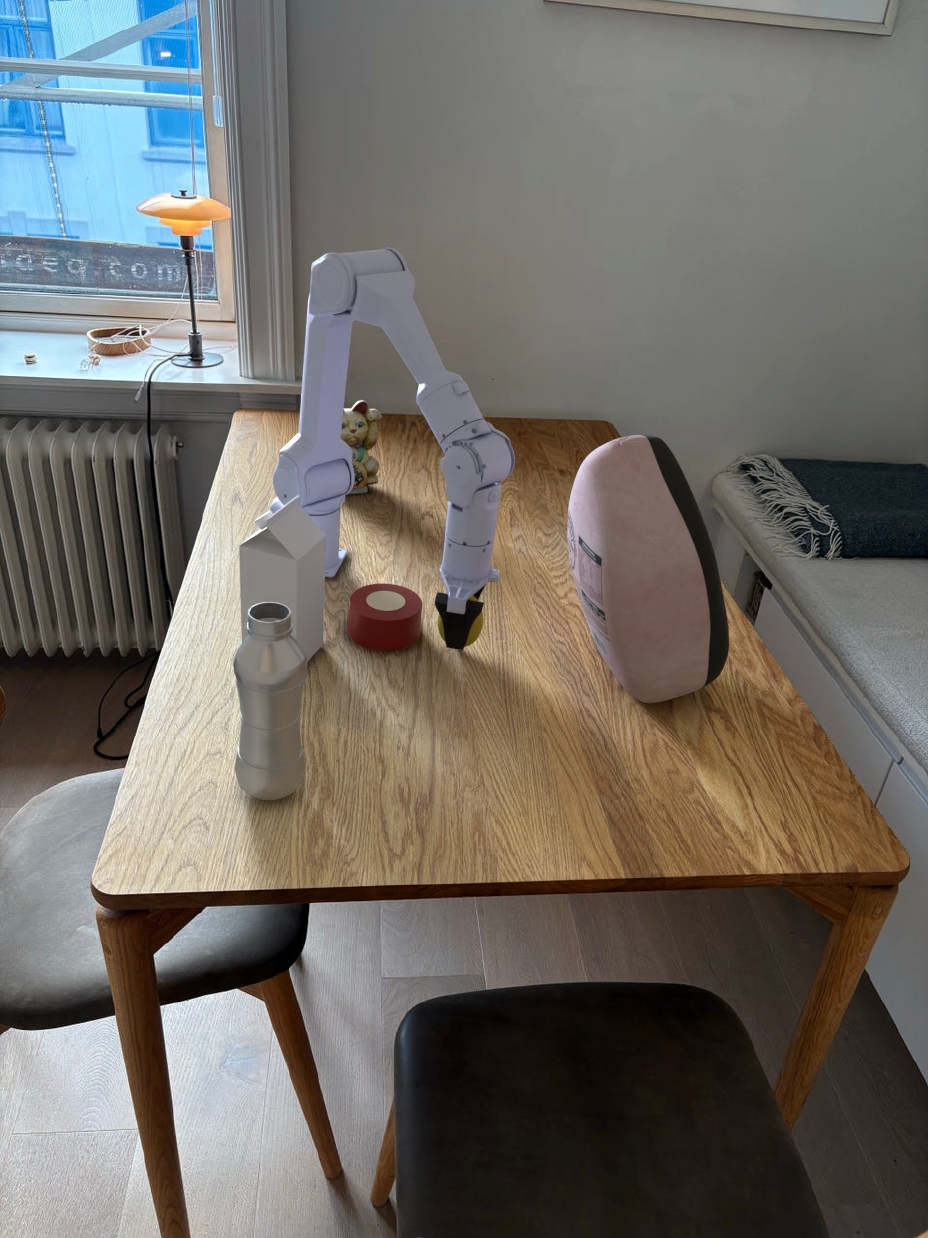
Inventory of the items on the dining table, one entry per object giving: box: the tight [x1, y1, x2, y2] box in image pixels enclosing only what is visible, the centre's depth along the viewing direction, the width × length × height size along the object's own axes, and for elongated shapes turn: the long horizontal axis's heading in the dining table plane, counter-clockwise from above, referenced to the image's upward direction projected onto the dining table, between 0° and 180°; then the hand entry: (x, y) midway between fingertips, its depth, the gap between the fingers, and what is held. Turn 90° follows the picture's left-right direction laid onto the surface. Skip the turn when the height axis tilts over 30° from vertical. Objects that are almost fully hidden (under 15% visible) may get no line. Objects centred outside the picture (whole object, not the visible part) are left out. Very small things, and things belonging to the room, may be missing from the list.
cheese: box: [347, 582, 423, 653], centre depth 118 cm, size 9×9×5 cm
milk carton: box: [238, 496, 326, 662], centre depth 108 cm, size 7×7×19 cm
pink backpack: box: [566, 434, 730, 704], centre depth 109 cm, size 22×20×30 cm
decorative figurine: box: [341, 399, 383, 495], centre depth 152 cm, size 10×8×15 cm
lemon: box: [437, 596, 484, 648], centre depth 116 cm, size 6×6×8 cm
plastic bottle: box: [232, 602, 309, 801], centre depth 88 cm, size 6×7×20 cm
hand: (458, 634), depth 117 cm, fingers closed on lemon, 5 cm apart
